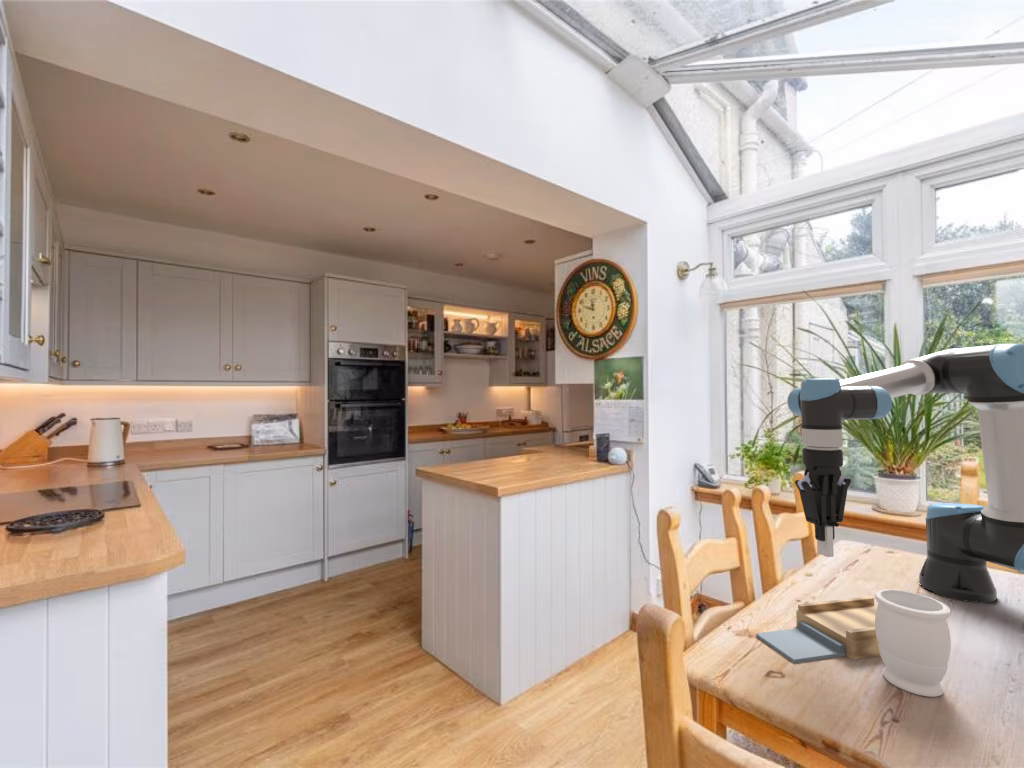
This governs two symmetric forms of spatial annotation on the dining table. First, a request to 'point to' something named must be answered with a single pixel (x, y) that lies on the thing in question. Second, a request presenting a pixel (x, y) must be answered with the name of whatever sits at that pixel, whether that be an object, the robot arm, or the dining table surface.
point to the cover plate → (803, 643)
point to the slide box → (845, 623)
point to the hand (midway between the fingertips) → (825, 554)
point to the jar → (913, 640)
